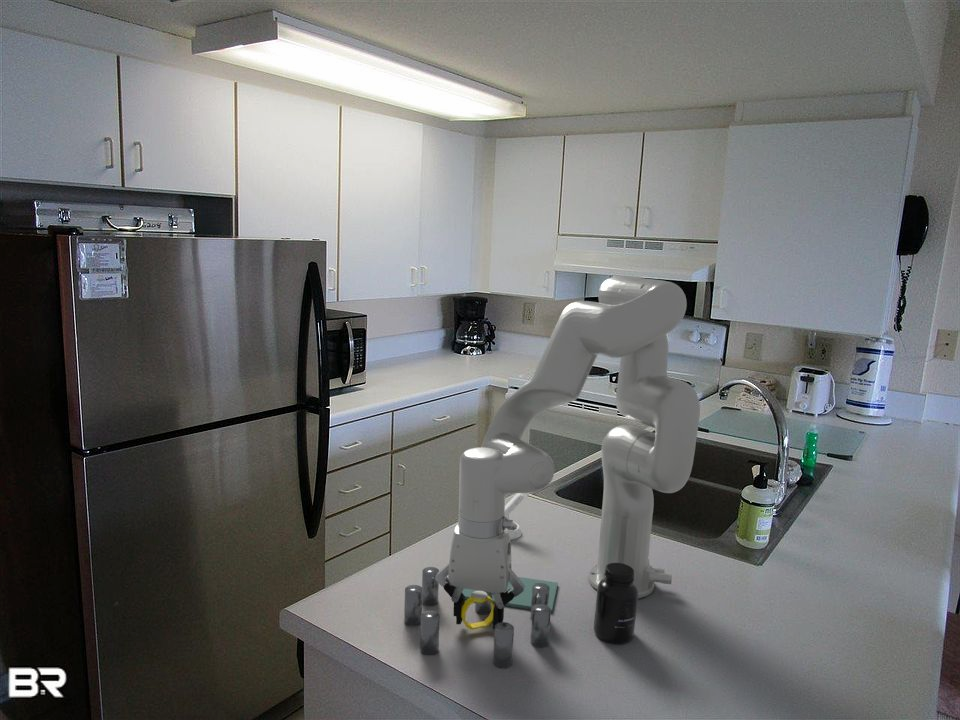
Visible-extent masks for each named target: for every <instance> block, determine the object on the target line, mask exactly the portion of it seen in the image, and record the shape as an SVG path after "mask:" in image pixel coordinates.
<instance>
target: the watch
mask: <svg viewBox="0 0 960 720" xmlns="http://www.w3.org/2000/svg"><path fill="white" fill-rule="evenodd" d="M487 600H488V601H490V602H491V606H492V610H491V612H490V613H489V614H488V617H486V618H485V620H484V621H483V620H482V621H478V622H473V623H470V622H468V621H467V620H466V616H467V615H466V614H467V610H468V609H469V608H470V606H472V604H473V603H475V602H479V603H481V602H485V601H487ZM494 606H495V603H494V602H493V600H492V599H491V598H490V597H489V596H488V595H487V593H486V592H484V591H474V592H473V593H472V594H471V597H470V598H468V599H467V600H466V599H465V603H464V604H463V606H462V608H461V618H462V622H463V625H465V626H466V627H467V628H468V629H469V630H471V631H472V630H476V629H480V628H488V627H489V626H490V624H491V623H493V609H494Z"/></svg>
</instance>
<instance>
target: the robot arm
mask: <svg viewBox="0 0 960 720" xmlns="http://www.w3.org/2000/svg"><path fill="white" fill-rule="evenodd" d="M684 292H685V291H683V289H682V288H681V287H680V286H679V285H678V284H676V283H674V282H672V281H668V280H667V281H666V280H662V279H654V278H653V279H651V278H643V277H635V276H625V275H620V276H619V275H618V276H612V277H611V276H610V277H609V278H607V279H605V280H604V281H603V282H602V283H601V285H600V287H599V289H598V295H597V297H598V302H597V301H590V300H578V301H577V300H576V301H573V302H571V303H570V304H569V303H568V305H567V306H566V307H565V308H564V309H563V310H562V312H561V314H560V316H559V318H558V320H557V321H556V324H555V327H554V329H553V331H552V333H551V335H550V337H549V340H548V343H547V344H546V347H545V349H544V351H543V353H542V355H541V358H540V360H539V362H538V363H537V367H536V368H535V371H534V372H533V375H532V376H531V378H529V380H528V381H527V382H526V383H524V384H522V386H519V388H517V390H515V391H514V392H513V393H512V394H511V395H509V397H508V398H507V399H506V400H505V401H504V402H503V403H502V404H501V405H500V406H499V408H498V409H497V411H496V413H495V414H494V416H493V418H492V420H491V423H490V424H489V426H488V429H487V431H486V434H485V436H484V438H483V440H482V444H481V446H480V447H472V448H469V449H467V450H465V451H464V452H463V453H462V454H461V456H460V458H459V475H458V476H459V479H458V481H459V482H458V485H459V486H458V487H459V488H458V524H457V525H455V527H454V530H453V535H452V540H451V546H450V552H449V553H450V554H449V562H448V563H447V564H446V565H445V566H444V567H442V568H441V569H440V570H439V572H438V573H437V575H436V577H435V580H436V581H437V582H438V583H439V586H441V587H443V590H444V591H445V593H447V594H448V595H449V597H450V598H451V599H450V600H451V602H453V617H454V618H455V617H456V618H455V619H456V620H455V621H456V623H455V625H461V624H462V622H463V620H462V618H461V608H462V606H463V604H464V603H465V601H466V599H465V596H464V594H463V593H462V591H463V589H471V590H478V591H485V592H492V594H493V597H494V599H495V602H496V603H495V606H494V609H493V621H492V629H493V631H495V625H496V624H498V623H501V622H504V615H505V613H504V612H505V607H506V606H505V605H506V604H507V603H509V602H510V601H511V600H513V598H514V597H516V596H518V595H519V594H521V593H522V592H523V591H524V588H525V585H524V584H523V583H522V581H521V580H520V579H519V578H518V577H519V576H518V575H517V574H516V573H515V572H514V570H513V569H512V545H511V540H510V536H509V531H510V530H509V529H513V528H514V527H513V522H514V520H513V519H510V518H509V519H510V520H509V519H507V518H506V516H505V513H504V512H505V506H506V495H507V494H517V493H522V494H530V493H536V492H540V491H542V490H544V489H545V488H546V487H547V486H549V485H550V483H551V482H552V480H553V478H554V476H555V464H554V461H553V459H552V458H551V456H550V455H549V454H548V453H547V452H546V451H544V450H542V449H540V448H539V447H537V446H534V445H532V444H530V443H528V442H526V441H524V440H522V437H523V436H524V433H525V431H526V429H527V427H528V426H529V425H530V423H531V422H532V421H533V419H535V418H536V417H537V416H538V415H540V414H541V413H543V412H544V411H547V410H549V409H551V408H554V407H557V406H561V405H565V404H568V403H572V402H574V401H576V400H577V399H578V398H579V397H580V395H581V392H582V391H583V388H584V386H585V384H586V382H587V379H588V376H589V375H590V372H591V370H592V368H593V365H594V363H595V361H596V359H597V357H598V355H600V356H604V357H608V358H613V359H614V358H615V359H616V358H618V359H619V358H620V360H619V361H620V362H619V369H618V376H617V384H616V394H615V396H616V397H615V404H616V405H615V406H616V408H617V411H618V412H619V414H621V415H622V416H623V417H625V418H627V419H629V420H632V421H634V422H637V423H640V424H642V425H645V426H647V427H651V428H654V432H653V431H650V430H648V429H645V428H642V427H638V426H634V425H631V424H630V425H629V424H621V425H617V426H615V427H613V428H611V429H610V430H609V431H608V432H607V433H606V435H605V436H604V438H603V441H602V443H601V451H600V452H601V456H600V457H601V465H602V472H603V473H602V474H603V494H602V507H601V518H600V520H601V521H600V531H599V541H598V544H599V545H598V553H597V554H598V556H597V565H595V566H593V567H591V569H590V570H589V571H588V582H589V584H590V585H591V586H592V587H593V588H594V589H595V590H597V588H598V584H599V582H600V581H601V580H602V579H604V573H605V568H606V565H608V564H609V563H623V564H626V565H628V566H630V567H631V568H633V569H634V582H633V583H634V584H635V585H636V587H637V589H638V599H641V598H645V597H647V596H649V595H650V594H651V593H652V592H653V591H654V588H655V583H660V584H662V585H663V584H664V585H672V579H673V578H672V577H673V576H672V573H665V568H662V567H653V565H650V559H649V556H650V545H651V544H650V542H651V535H652V526H653V525H652V523H653V516H654V515H653V513H654V504H655V503H654V493H653V490H655V491H658V492H661V493H665V494H673V493H676V492H677V493H678V491H680V490H681V489H683V487H685V485H686V483H687V482H688V480H689V478H690V476H691V473H692V469H693V465H694V459H695V458H694V457H695V451H696V445H697V438H698V437H697V436H698V433H699V432H698V431H699V424H700V416H701V414H700V413H701V404H700V399H699V395H698V393H697V391H696V390H695V389H694V387H693V386H692V385H691V384H689V383H687V382H685V381H684V380H680V379H677V378H674V377H673V378H672V377H669V376H668V373H667V372H668V362H669V361H668V360H669V342H668V341H669V340H668V337H667V336H668V335H667V334H668V333H670V332H671V331H672V330H674V329H676V327H677V326H678V325H679V324H680V323H681V321H682V320H683V318H684V316H685V314H686V311H687V307H688V305H687V304H688V303H687V298H686V293H684ZM508 581H509V582H510V584H511V585H512V586H513V588H511V589H509V590H508V591H506V590H507V586H508ZM505 591H506V592H505Z"/></svg>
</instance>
